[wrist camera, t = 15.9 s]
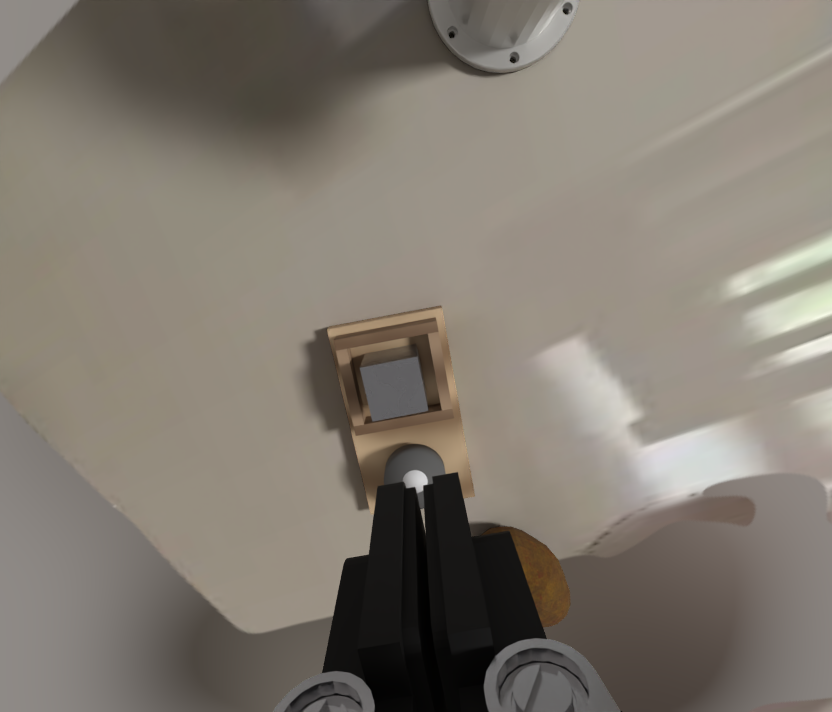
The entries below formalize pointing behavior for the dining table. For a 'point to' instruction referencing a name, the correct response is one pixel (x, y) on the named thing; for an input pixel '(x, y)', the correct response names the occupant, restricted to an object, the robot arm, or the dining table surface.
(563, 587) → the potato
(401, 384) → the grey stone cube
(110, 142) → the dining table surface
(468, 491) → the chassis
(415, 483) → the wheel
